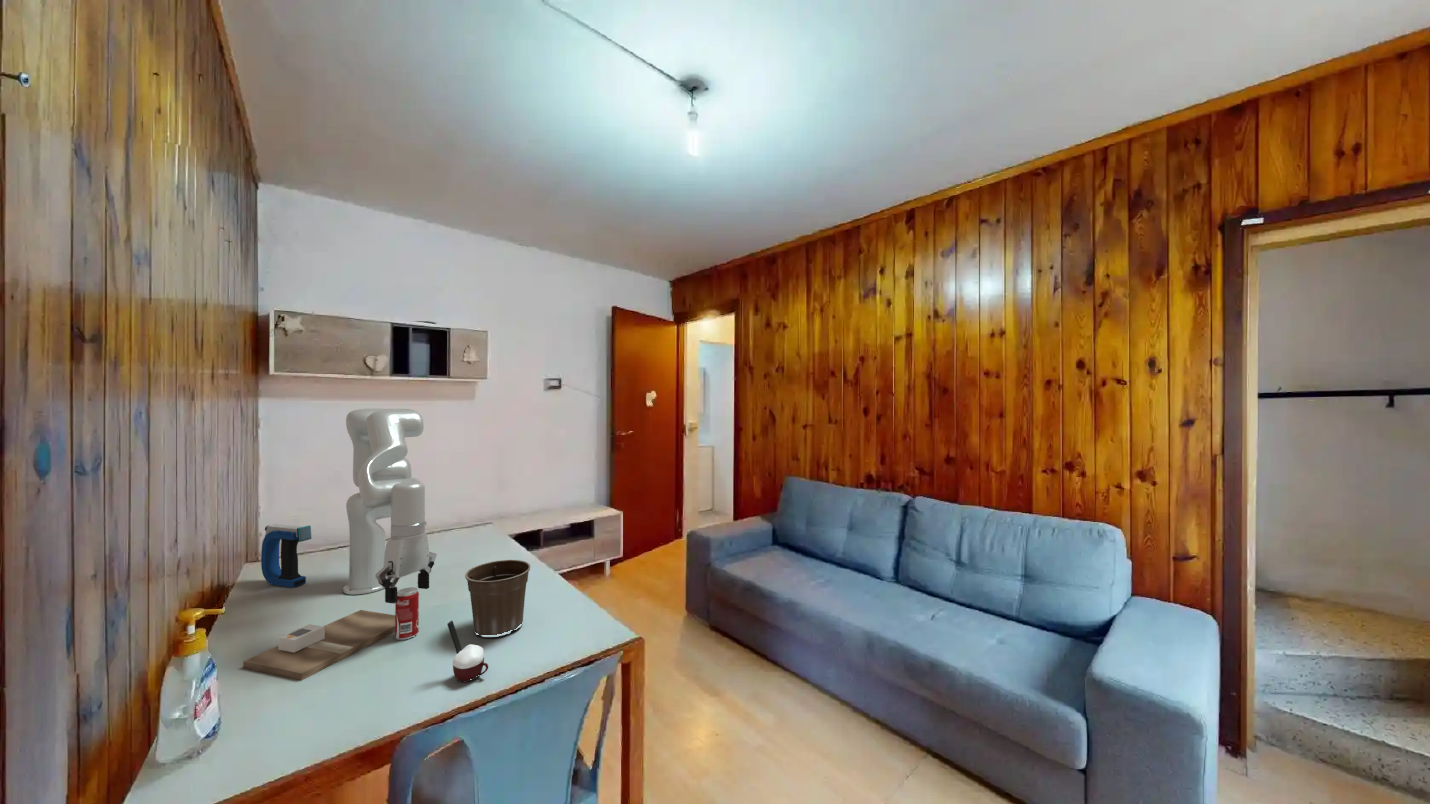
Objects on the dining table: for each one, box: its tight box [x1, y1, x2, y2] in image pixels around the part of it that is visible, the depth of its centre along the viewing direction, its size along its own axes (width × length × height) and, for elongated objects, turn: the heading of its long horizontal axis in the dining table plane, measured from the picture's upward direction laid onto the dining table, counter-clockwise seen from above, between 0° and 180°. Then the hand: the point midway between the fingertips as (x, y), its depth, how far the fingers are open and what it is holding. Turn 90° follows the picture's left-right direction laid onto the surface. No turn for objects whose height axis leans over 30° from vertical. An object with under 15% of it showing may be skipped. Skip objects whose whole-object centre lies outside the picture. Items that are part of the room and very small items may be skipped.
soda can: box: [394, 587, 420, 641], centre depth 126 cm, size 5×5×12 cm
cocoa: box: [447, 620, 489, 682], centre depth 108 cm, size 10×6×12 cm, turn 60°
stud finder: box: [277, 623, 325, 653], centre depth 118 cm, size 7×5×3 cm
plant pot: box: [464, 559, 531, 635], centre depth 130 cm, size 16×16×16 cm
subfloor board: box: [242, 609, 395, 681], centre depth 121 cm, size 28×18×2 cm, turn 166°
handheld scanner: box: [260, 523, 312, 589], centre depth 159 cm, size 5×16×20 cm, turn 78°
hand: (407, 595), depth 125 cm, fingers open, 9 cm apart
